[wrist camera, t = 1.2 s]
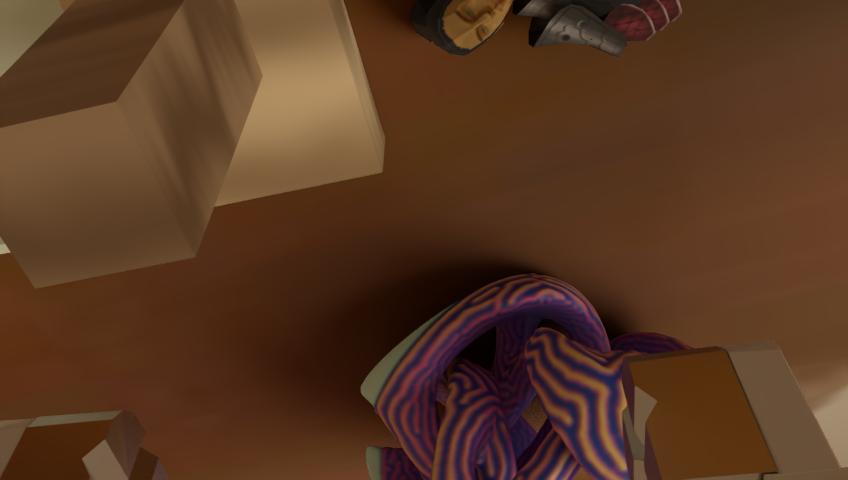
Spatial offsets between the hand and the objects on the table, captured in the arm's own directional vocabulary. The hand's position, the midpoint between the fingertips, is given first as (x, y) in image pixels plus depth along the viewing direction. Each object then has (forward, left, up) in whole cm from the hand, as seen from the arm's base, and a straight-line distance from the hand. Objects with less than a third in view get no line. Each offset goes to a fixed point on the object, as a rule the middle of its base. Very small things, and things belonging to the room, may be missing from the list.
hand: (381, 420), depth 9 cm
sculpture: (+26, +1, -28) cm, 38 cm away
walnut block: (+3, -10, -24) cm, 26 cm away
